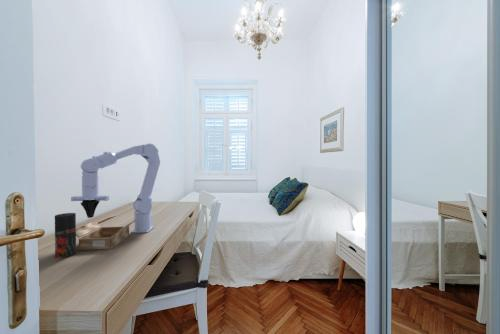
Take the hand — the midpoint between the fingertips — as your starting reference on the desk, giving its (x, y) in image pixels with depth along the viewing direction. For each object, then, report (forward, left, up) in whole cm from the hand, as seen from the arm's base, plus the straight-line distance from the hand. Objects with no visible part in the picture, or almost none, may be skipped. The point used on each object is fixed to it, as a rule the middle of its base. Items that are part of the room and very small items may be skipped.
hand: (90, 217), depth 96 cm
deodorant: (+15, 0, -11) cm, 18 cm away
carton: (+3, +8, -10) cm, 13 cm away
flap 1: (+3, +2, -5) cm, 6 cm away
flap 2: (+3, +14, -5) cm, 15 cm away
